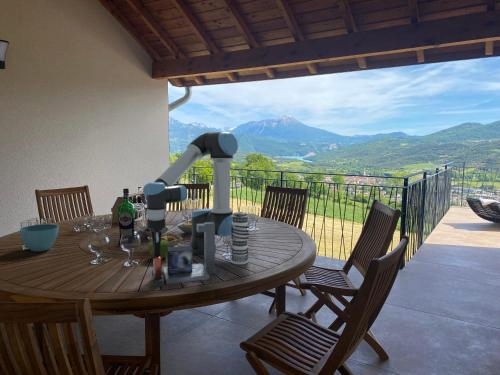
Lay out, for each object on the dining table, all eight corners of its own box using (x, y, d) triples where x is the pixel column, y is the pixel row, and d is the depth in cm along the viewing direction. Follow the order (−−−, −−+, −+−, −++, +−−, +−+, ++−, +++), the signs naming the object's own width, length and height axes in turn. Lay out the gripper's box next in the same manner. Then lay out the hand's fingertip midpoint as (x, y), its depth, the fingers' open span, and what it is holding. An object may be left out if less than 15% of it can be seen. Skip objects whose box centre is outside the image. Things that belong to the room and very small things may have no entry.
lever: (153, 278, 147) (153, 256, 146) (162, 277, 148) (161, 255, 147) (154, 281, 143) (153, 259, 142) (163, 280, 145) (162, 258, 144)
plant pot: (49, 243, 202) (48, 222, 201) (66, 248, 192) (65, 226, 191) (14, 250, 187) (13, 228, 186) (30, 256, 177) (29, 233, 176)
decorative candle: (252, 261, 174) (253, 212, 171) (238, 265, 168) (238, 215, 165) (240, 257, 181) (241, 210, 178) (226, 261, 175) (227, 212, 172)
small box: (168, 274, 149) (167, 251, 148) (167, 269, 155) (166, 247, 154) (192, 272, 152) (192, 249, 151) (191, 267, 158) (190, 245, 157)
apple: (168, 254, 184) (168, 236, 183) (170, 260, 174) (170, 241, 173) (147, 256, 181) (147, 237, 180) (148, 262, 171) (147, 242, 170)
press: (152, 271, 158) (151, 222, 155) (209, 266, 167) (209, 219, 164) (155, 286, 141) (154, 231, 138) (218, 279, 150) (219, 227, 147)
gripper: (146, 216, 153) (147, 268, 155) (147, 222, 141) (148, 278, 143) (163, 215, 155) (164, 266, 158) (166, 221, 143) (167, 276, 146)
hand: (156, 272), depth 150 cm, fingers closed
